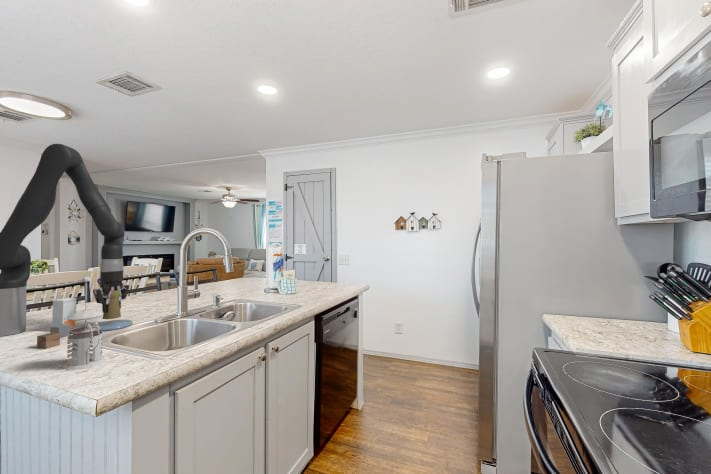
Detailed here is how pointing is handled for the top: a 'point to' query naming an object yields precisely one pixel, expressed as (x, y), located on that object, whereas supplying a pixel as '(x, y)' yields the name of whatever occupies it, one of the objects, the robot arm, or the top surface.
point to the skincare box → (63, 311)
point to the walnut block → (48, 340)
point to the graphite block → (61, 330)
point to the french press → (84, 340)
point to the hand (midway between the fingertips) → (111, 311)
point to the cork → (113, 306)
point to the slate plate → (113, 325)
